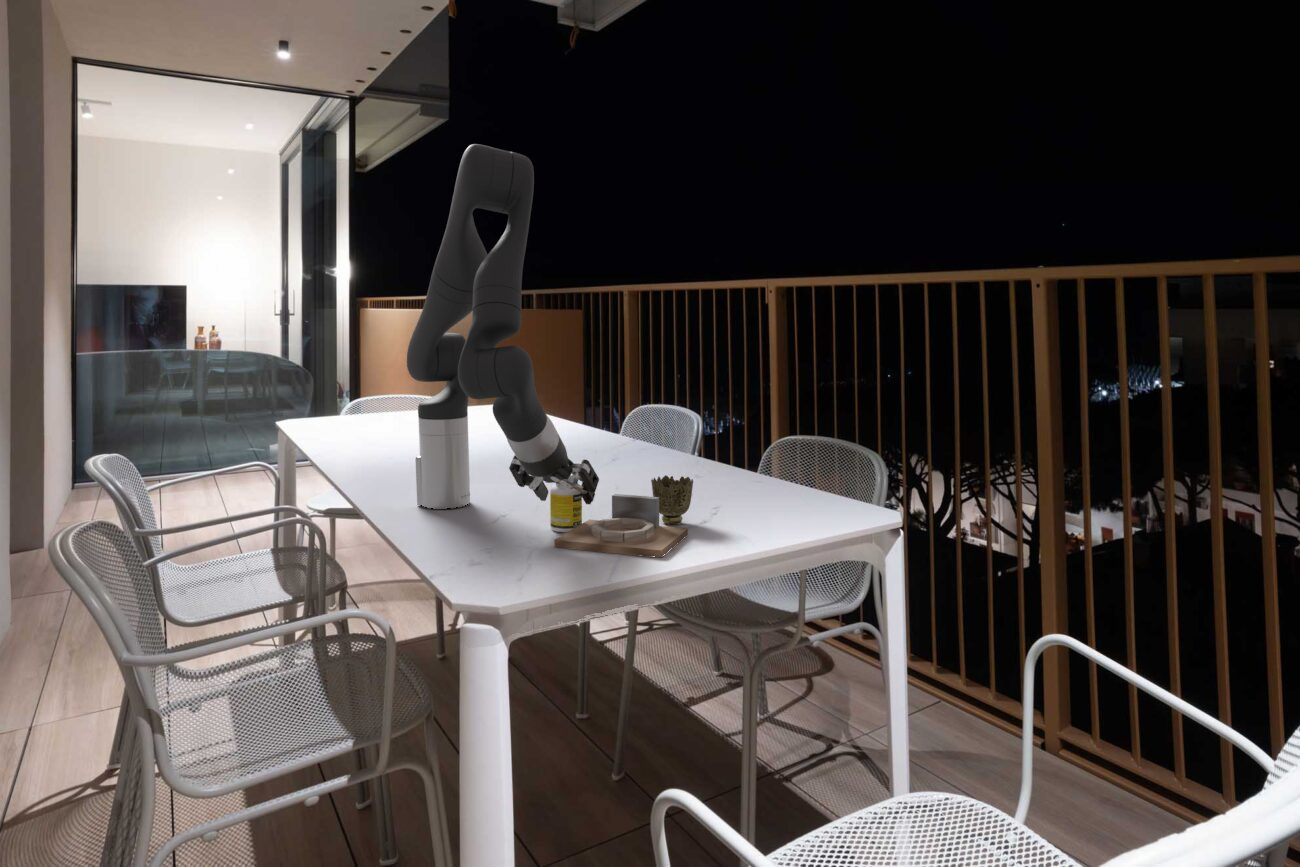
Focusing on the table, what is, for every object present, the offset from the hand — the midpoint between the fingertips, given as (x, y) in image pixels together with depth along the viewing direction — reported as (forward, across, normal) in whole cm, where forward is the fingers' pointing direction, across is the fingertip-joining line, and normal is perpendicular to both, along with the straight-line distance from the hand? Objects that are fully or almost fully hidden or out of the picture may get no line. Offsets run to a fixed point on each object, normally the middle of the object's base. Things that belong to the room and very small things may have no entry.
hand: (567, 498), depth 141 cm
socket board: (+1, -12, +7) cm, 14 cm away
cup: (+11, -16, -3) cm, 19 cm away
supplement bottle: (+4, 0, +4) cm, 6 cm away
